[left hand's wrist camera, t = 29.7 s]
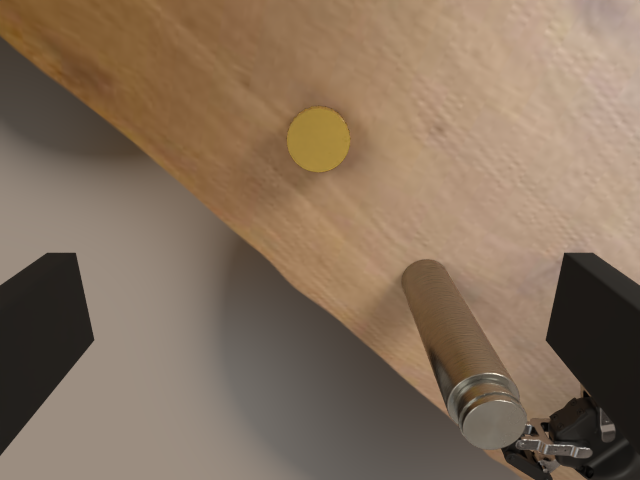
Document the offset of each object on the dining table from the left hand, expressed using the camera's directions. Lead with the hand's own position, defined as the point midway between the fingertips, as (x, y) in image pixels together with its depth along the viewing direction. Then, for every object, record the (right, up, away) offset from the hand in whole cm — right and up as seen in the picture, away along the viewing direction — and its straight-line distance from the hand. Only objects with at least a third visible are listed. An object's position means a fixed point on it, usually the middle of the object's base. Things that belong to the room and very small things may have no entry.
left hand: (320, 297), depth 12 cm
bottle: (+11, -3, +34) cm, 35 cm away
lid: (0, +10, +27) cm, 29 cm away
